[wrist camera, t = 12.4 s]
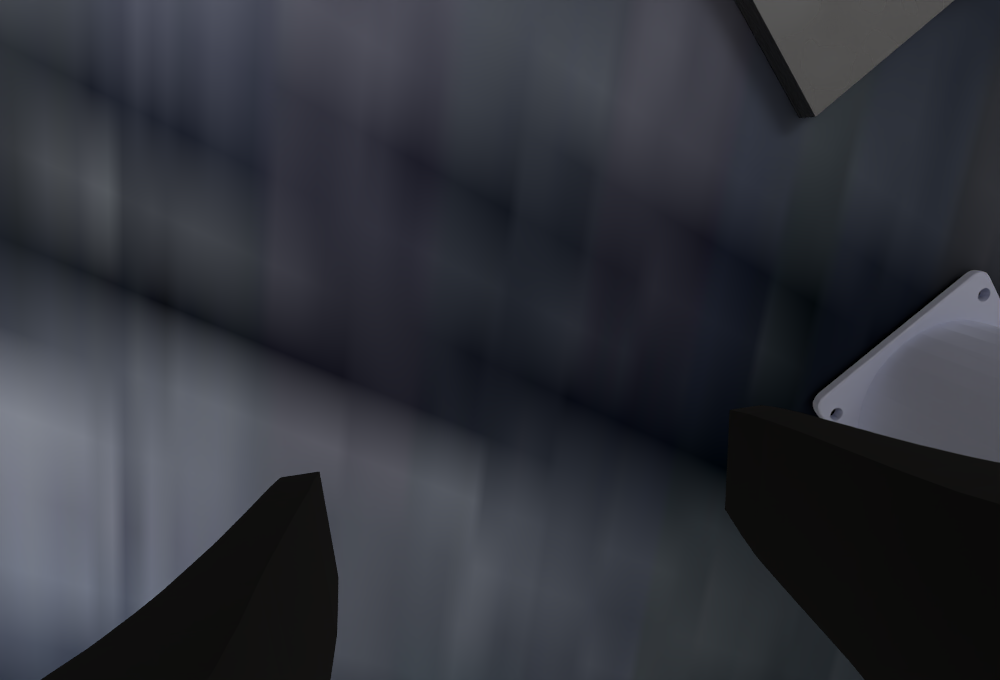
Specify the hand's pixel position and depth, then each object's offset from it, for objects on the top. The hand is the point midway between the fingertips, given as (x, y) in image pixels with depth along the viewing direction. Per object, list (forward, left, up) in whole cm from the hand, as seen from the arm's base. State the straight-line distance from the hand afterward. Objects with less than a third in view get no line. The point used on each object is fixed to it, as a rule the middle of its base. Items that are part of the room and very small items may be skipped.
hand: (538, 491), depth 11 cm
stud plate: (+2, -17, -10) cm, 20 cm away
